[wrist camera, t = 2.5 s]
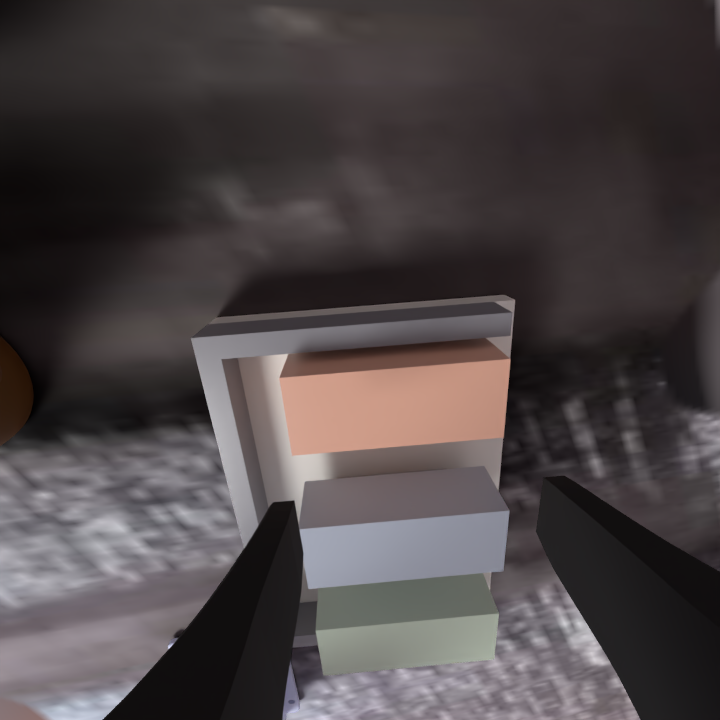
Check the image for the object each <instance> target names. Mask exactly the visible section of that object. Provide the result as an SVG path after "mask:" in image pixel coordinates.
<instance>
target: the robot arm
mask: <svg viewBox="0 0 720 720" xmlns="http://www.w3.org/2000/svg"><path fill="white" fill-rule="evenodd" d="M536 532H537V535H538V537H539V539H540V541H541V543H542V546H543V548H544V550H545V552H546V554H547V556H548V558H549V561H550V563H551V565H552V567H553V569H554V570H555V572H556V574H557V575H558V577H559V579H560V580H561V582H562V584H563V585H564V587H565V589H566V590H567V592H568V594H569V595H570V597H571V599H572V600H573V602H574V603H575V605H576V607H577V608H578V610H579V611H580V613H581V615H582V616H583V618H584V620H585V621H586V623H587V624H588V626H589V628H590V629H591V631H592V633H593V634H594V636H595V637H596V639H597V641H598V642H599V644H600V646H601V647H602V649H603V650H604V652H605V654H606V655H607V657H608V659H609V661H610V662H611V664H612V666H613V668H614V669H615V671H616V673H617V675H618V676H619V678H620V680H621V682H622V684H623V686H624V688H625V690H626V692H627V694H628V696H629V698H630V700H631V702H632V703H633V705H634V707H635V709H636V711H637V713H638V715H639V717H640V719H641V720H720V572H719V571H717V570H715V569H714V568H712V567H710V566H708V565H706V564H705V563H703V562H701V561H699V560H698V559H696V558H694V557H692V556H691V555H689V554H687V553H686V552H684V551H682V550H681V549H679V548H677V547H676V546H674V545H672V544H670V543H669V542H667V541H665V540H664V539H662V538H661V537H659V536H657V535H656V534H654V533H652V532H651V531H649V530H648V529H646V528H645V527H643V526H641V525H640V524H638V523H637V522H635V521H634V520H632V519H630V518H629V517H627V516H626V515H624V514H623V513H621V512H620V511H618V510H617V509H615V508H614V507H612V506H611V505H609V504H607V503H606V502H604V501H603V500H601V499H600V498H598V497H597V496H595V495H594V494H592V493H591V492H589V491H588V490H586V489H585V488H583V487H582V486H580V485H579V484H577V483H575V482H574V481H572V480H571V479H569V478H567V477H566V476H556V477H545V478H543V485H542V492H541V500H540V507H539V514H538V522H537V529H536ZM303 555H304V553H303V547H302V541H301V535H300V530H299V524H298V518H297V513H296V507H295V501H294V500H292V501H281V502H273V503H272V504H271V505H270V506H269V508H268V510H267V512H266V513H265V515H264V517H263V519H262V520H261V522H260V524H259V525H258V527H257V529H256V530H255V532H254V534H253V535H252V537H251V539H250V540H249V542H248V543H247V545H246V546H245V548H244V550H243V551H242V553H241V554H240V556H239V557H238V559H237V560H236V562H235V563H234V565H233V566H232V568H231V569H230V571H229V572H228V574H227V575H226V576H225V578H224V579H223V581H222V582H221V583H220V585H219V586H218V587H217V589H216V590H215V592H214V593H213V594H212V596H211V597H210V599H209V600H208V601H207V603H206V604H205V605H204V607H203V608H202V609H201V610H200V612H199V613H198V614H197V616H196V617H195V618H194V619H193V621H192V622H191V623H190V624H189V626H188V627H187V628H186V629H185V631H184V632H183V633H182V634H181V635H180V637H179V638H173V639H172V640H171V641H170V643H169V645H168V649H169V650H168V651H167V652H166V653H165V654H164V655H163V656H162V657H161V659H160V660H159V661H158V662H157V663H156V664H155V665H154V666H153V668H152V669H151V670H150V671H149V672H148V673H147V674H146V675H145V677H144V678H143V679H142V680H141V681H140V682H139V683H138V684H137V685H136V686H135V687H134V688H133V689H132V691H131V692H130V693H129V694H128V695H127V696H126V697H125V698H124V699H123V700H122V701H121V702H120V703H119V704H118V705H117V706H116V707H115V708H114V709H113V710H112V711H111V712H110V713H109V714H108V715H107V716H106V717H105V718H104V719H103V720H286V715H287V713H295V712H297V711H298V710H299V709H300V701H299V696H298V692H297V687H296V683H295V678H294V674H293V669H292V665H291V654H292V648H293V642H294V635H295V629H296V623H297V617H298V610H299V604H300V598H301V590H302V574H303Z"/></svg>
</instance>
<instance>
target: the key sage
mask: <svg viewBox="0 0 720 720" xmlns="http://www.w3.org/2000/svg"><path fill="white" fill-rule="evenodd" d="M498 617H499V613H498V610H497V607H496V605H495V602H494V600H493V597H492V595H491V592H490V590H489V587H488V585H487V582H486V580H485V577H484V575H483V573H478V574H467V575H456V576H445V577H434V578H424V579H413V580H402V581H391V582H380V583H369V584H358V585H348V586H337V587H326V588H318V601H317V617H316V636H317V642H318V647H319V653H320V659H321V665H322V670H323V676H327V675H338V674H348V673H359V672H369V671H379V670H390V669H400V668H410V667H421V666H431V665H442V664H452V663H462V662H473V661H483V660H493V659H494V655H495V646H496V636H497V626H498Z"/></svg>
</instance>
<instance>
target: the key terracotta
mask: <svg viewBox="0 0 720 720" xmlns="http://www.w3.org/2000/svg"><path fill="white" fill-rule="evenodd" d="M510 360H511V359H510V358H509V357H508V356H507V355H505V354H504V353H503V352H502V351H501V350H499V349H498V348H497V347H496V346H495V345H494V344H492V343H491V342H490V341H489V340H488V339H487V338H478V339H465V340H453V341H441V342H428V343H416V344H404V345H391V346H379V347H367V348H354V349H342V350H330V351H317V352H305V353H293V354H288V356H287V359H286V362H285V364H284V367H283V369H282V372H281V374H280V377H279V380H280V386H281V392H282V398H283V404H284V410H285V416H286V422H287V428H288V435H289V441H290V447H291V453H292V456H295V455H306V454H318V453H330V452H341V451H353V450H365V449H376V448H388V447H400V446H411V445H423V444H435V443H446V442H458V441H470V440H481V439H493V438H504V428H505V417H506V406H507V394H508V383H509V372H510Z"/></svg>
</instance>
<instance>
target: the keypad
mask: <svg viewBox="0 0 720 720" xmlns="http://www.w3.org/2000/svg"><path fill="white" fill-rule="evenodd" d="M514 309H515V300H514V299H512V298H510V297H508V296H506V295H495V296H482V297H469V298H457V299H444V300H431V301H419V302H406V303H393V304H381V305H368V306H355V307H343V308H330V309H317V310H305V311H292V312H279V313H267V314H254V315H241V316H229V317H216V318H215V319H214V320H213V321H211V322H210V323H209V324H208V325H206V326H205V327H204V328H203V329H202V330H200V331H199V332H198V333H197V334H195V335H194V336H193V337H192V338H191V340H192V344H193V348H194V352H195V356H196V360H197V364H198V368H199V372H200V376H201V380H202V384H203V388H204V392H205V396H206V400H207V404H208V408H209V412H210V416H211V420H212V424H213V428H214V432H215V436H216V440H217V444H218V448H219V452H220V456H221V460H222V464H223V468H224V471H225V475H226V479H227V483H228V487H229V491H230V495H231V499H232V503H233V507H234V511H235V515H236V519H237V523H238V527H239V531H240V535H241V539H242V543H243V547H244V548H245V546H246V545H247V543H248V542H249V540H250V539H251V537H252V535H253V534H254V532H255V530H256V529H257V527H258V525H259V524H260V522H261V520H262V519H263V517H264V515H265V513H266V512H267V510H268V508H269V506H270V505H271V504H272V503H273V502H281V501H292V500H294V501H295V507H296V513H297V518H298V524H299V519H300V512H301V505H302V498H303V490H304V483H305V481H316V480H328V479H339V478H351V477H362V476H374V475H385V474H396V473H408V472H419V471H431V470H442V469H454V468H465V467H477V466H484V467H485V468H486V470H487V472H488V474H489V475H490V477H491V479H492V481H493V482H494V484H495V486H496V488H497V489H498V491H499V480H500V468H501V457H502V446H503V438H493V439H481V440H470V441H458V442H446V443H435V444H423V445H411V446H400V447H388V448H376V449H365V450H353V451H341V452H330V453H318V454H306V455H295V456H292V453H291V447H290V441H289V435H288V428H287V422H286V416H285V410H284V404H283V398H282V392H281V386H280V380H279V377H280V374H281V372H282V369H283V367H284V364H285V362H286V359H287V356H288V354H293V353H305V352H317V351H330V350H342V349H354V348H367V347H379V346H391V345H404V344H416V343H428V342H441V341H453V340H465V339H478V338H487V339H488V340H489V341H490V342H491V343H492V344H494V345H495V346H496V347H497V348H498V349H499V350H501V351H502V352H503V353H504V354H505V355H507V356H508V357H509V358H510V354H511V343H512V332H513V320H514ZM483 575H484V577H485V580H486V582H487V585H488V587H489V590H490V582H491V572H489V573H483ZM317 601H318V588H315V589H308V584H307V578H306V572H305V567H304V561H303V574H302V590H301V598H300V604H299V610H298V617H297V623H296V629H295V635H294V642H293V648H295V647H306V646H316V645H318V642H317V636H316V617H317Z"/></svg>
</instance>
